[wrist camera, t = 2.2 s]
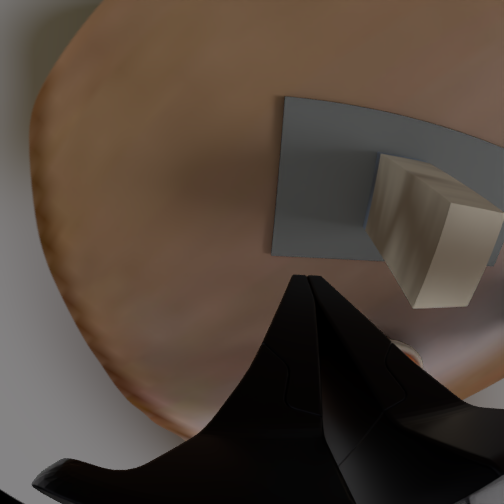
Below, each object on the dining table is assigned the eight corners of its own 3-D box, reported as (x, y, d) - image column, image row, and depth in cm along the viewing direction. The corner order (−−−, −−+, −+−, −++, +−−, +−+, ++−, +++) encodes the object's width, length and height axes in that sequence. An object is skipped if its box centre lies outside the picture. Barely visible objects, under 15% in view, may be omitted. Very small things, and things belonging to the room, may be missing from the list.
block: (408, 230, 19) (467, 306, 12) (362, 226, 19) (412, 308, 12) (425, 161, 16) (505, 213, 9) (377, 151, 16) (450, 202, 9)
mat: (491, 264, 20) (493, 266, 20) (271, 253, 20) (271, 255, 20) (525, 158, 15) (528, 159, 15) (284, 96, 15) (285, 96, 15)
